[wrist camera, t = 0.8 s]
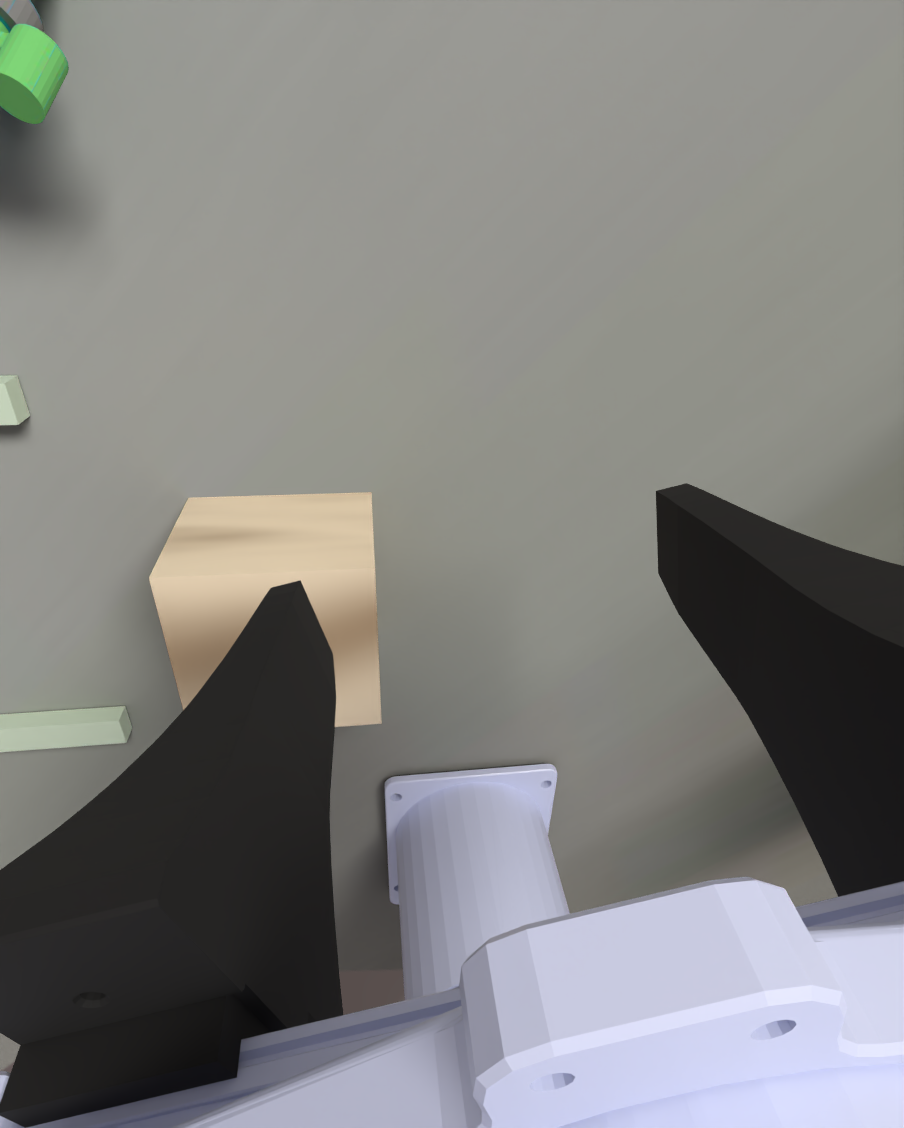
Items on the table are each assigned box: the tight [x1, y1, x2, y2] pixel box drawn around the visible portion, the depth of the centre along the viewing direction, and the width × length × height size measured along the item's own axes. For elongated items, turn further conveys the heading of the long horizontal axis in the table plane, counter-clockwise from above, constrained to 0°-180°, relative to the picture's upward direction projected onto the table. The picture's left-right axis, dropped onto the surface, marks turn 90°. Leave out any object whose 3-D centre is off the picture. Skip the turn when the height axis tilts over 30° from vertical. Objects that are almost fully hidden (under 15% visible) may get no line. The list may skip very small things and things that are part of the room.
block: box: [149, 492, 382, 727], centre depth 21 cm, size 6×6×5 cm
